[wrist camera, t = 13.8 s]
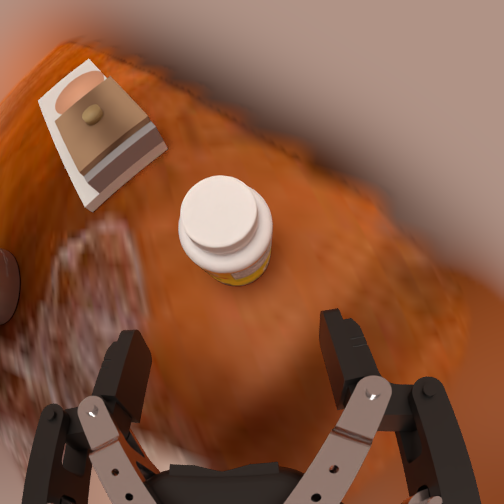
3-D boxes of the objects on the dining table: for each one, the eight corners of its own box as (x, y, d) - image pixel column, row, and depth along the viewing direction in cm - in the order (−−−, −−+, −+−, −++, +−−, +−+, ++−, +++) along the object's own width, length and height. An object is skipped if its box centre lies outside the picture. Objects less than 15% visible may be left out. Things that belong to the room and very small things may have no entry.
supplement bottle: (193, 242, 25) (149, 192, 15) (250, 211, 25) (241, 145, 15) (223, 300, 24) (192, 284, 14) (283, 267, 24) (294, 229, 14)
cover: (94, 186, 25) (73, 167, 21) (67, 134, 27) (50, 116, 23) (157, 134, 26) (144, 109, 22) (119, 92, 28) (107, 70, 24)
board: (92, 212, 26) (71, 197, 22) (42, 106, 31) (30, 92, 27) (167, 148, 27) (155, 126, 23) (92, 64, 32) (82, 48, 29)
